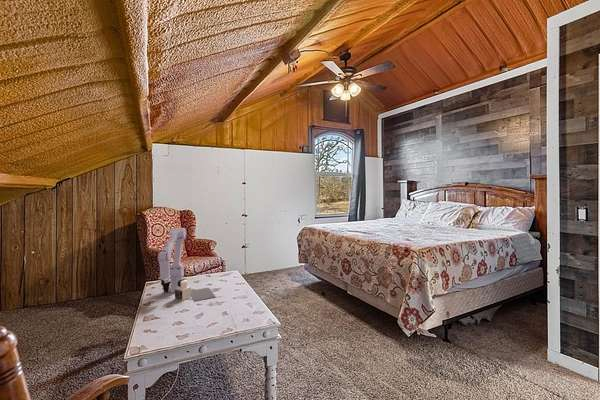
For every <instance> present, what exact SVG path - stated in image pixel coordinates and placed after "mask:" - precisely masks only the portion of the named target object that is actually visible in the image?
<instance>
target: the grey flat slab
mask: <svg viewBox="0 0 600 400" xmlns="http://www.w3.org/2000/svg"><path fill="white" fill-rule="evenodd" d="M191 298H192V299H193V301H194V302H199V301H204V300H205V301H206V300H209V299H213V298H216V295H215V294H214V293H213V291H212V289H210V288H209V287H204V288H200V289H199V288H197V289H193V290H191Z"/></svg>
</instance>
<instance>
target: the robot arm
mask: <svg viewBox="0 0 600 400" xmlns="http://www.w3.org/2000/svg"><path fill="white" fill-rule="evenodd" d="M186 238H187V230H186V228H185V227H181V228H180V227H177V228H176V227H175V228H174V227H173V228H170V230H169V239H168V240H167V242H166V243H165V244H164V246H163V247H162V250H161V251H160V252H158V254H157V261H158V264H159V277H158V280H160V285H161V286H162V289H163V293H164V294H168V293H169V291H170V293H171V294H172V293H174V294H175V288H178V281H179V280H182V278H183V277H184V276H185V266H184V265H183V264H181V260H182V253H183V245H184V241H185V240H186ZM173 249H174V252H173ZM172 252H173V253H174V254H173V261H172V264H171V263H170V260H171V258H172ZM170 264H171V265H170ZM169 280H170V281H169Z"/></svg>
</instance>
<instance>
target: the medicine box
mask: <svg viewBox="0 0 600 400" xmlns="http://www.w3.org/2000/svg"><path fill="white" fill-rule="evenodd" d="M191 287H192V286H189V283H188V279H184V278H183V279H182V280H179V281H178V288H175V292H174V300H178V301H181V302H183V301H186V300H187V299H190V298H192V295H191V291H192V288H191Z"/></svg>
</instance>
